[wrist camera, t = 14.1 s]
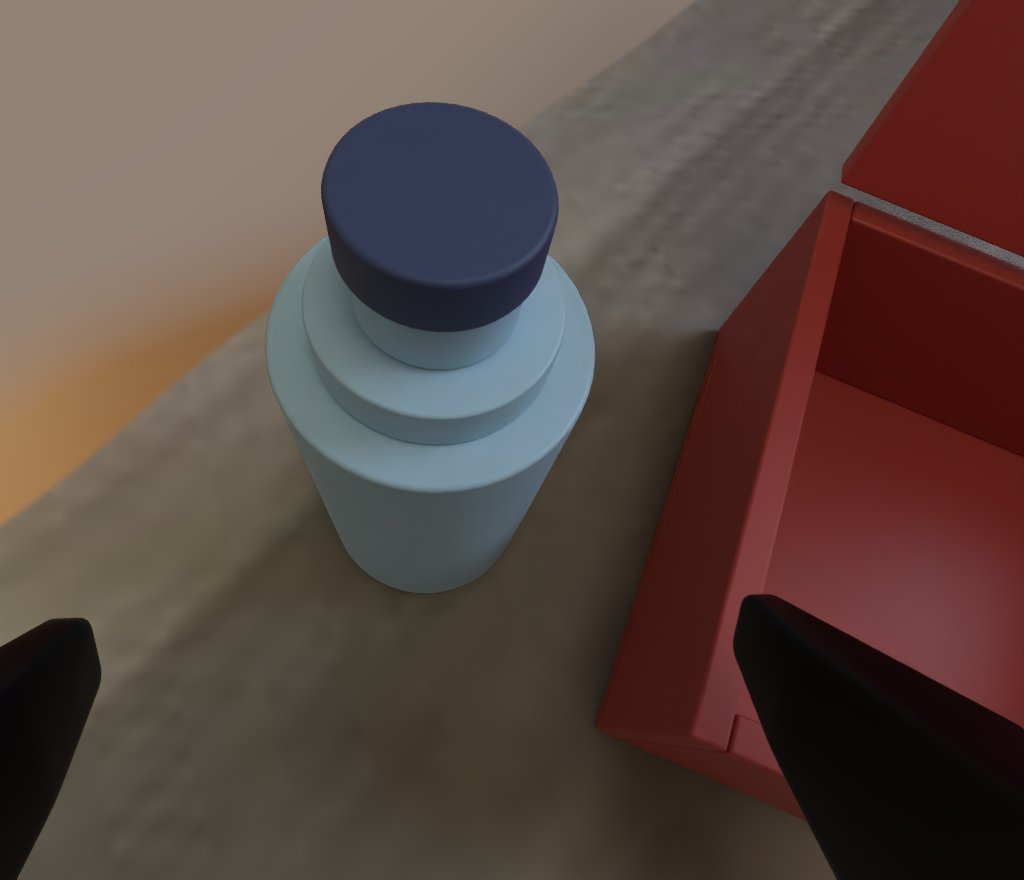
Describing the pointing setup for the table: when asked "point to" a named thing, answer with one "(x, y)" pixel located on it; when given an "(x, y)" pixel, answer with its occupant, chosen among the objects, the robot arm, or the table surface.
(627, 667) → the cool box
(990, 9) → the cool box lid
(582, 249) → the table surface
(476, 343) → the water bottle
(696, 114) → the table surface
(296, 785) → the table surface
